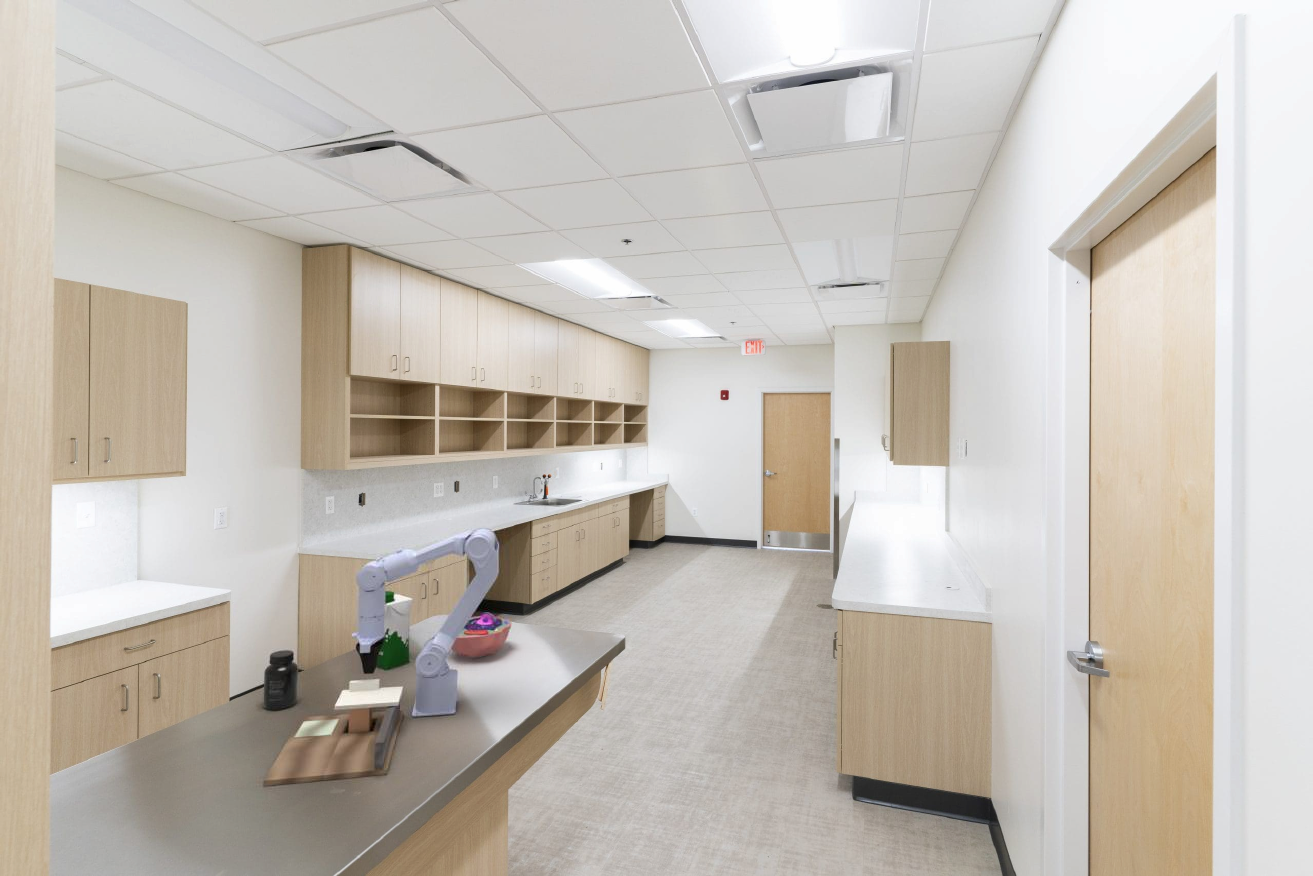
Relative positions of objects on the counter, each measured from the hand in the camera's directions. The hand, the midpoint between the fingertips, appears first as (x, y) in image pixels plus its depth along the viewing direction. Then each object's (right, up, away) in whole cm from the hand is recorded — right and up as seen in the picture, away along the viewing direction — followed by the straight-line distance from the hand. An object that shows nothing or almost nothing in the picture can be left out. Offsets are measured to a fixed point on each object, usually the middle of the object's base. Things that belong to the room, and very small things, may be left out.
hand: (369, 672), depth 146 cm
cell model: (+14, -9, +38) cm, 41 cm away
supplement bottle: (-21, -8, +1) cm, 23 cm away
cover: (+4, -3, -9) cm, 10 cm away
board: (+1, -9, -16) cm, 18 cm away
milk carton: (-7, -8, +28) cm, 30 cm away
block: (+2, -9, -9) cm, 13 cm away
